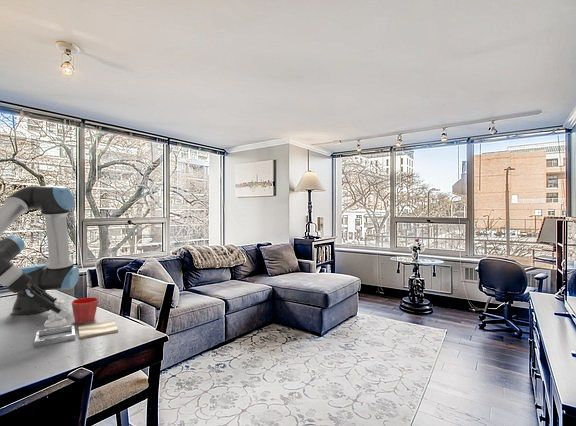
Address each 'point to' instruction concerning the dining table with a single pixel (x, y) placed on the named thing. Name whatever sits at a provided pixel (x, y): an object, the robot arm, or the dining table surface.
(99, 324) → the birch pad
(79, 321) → the flower pot
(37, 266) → the robot arm
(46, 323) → the hook
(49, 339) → the steel holder
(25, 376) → the dining table surface
